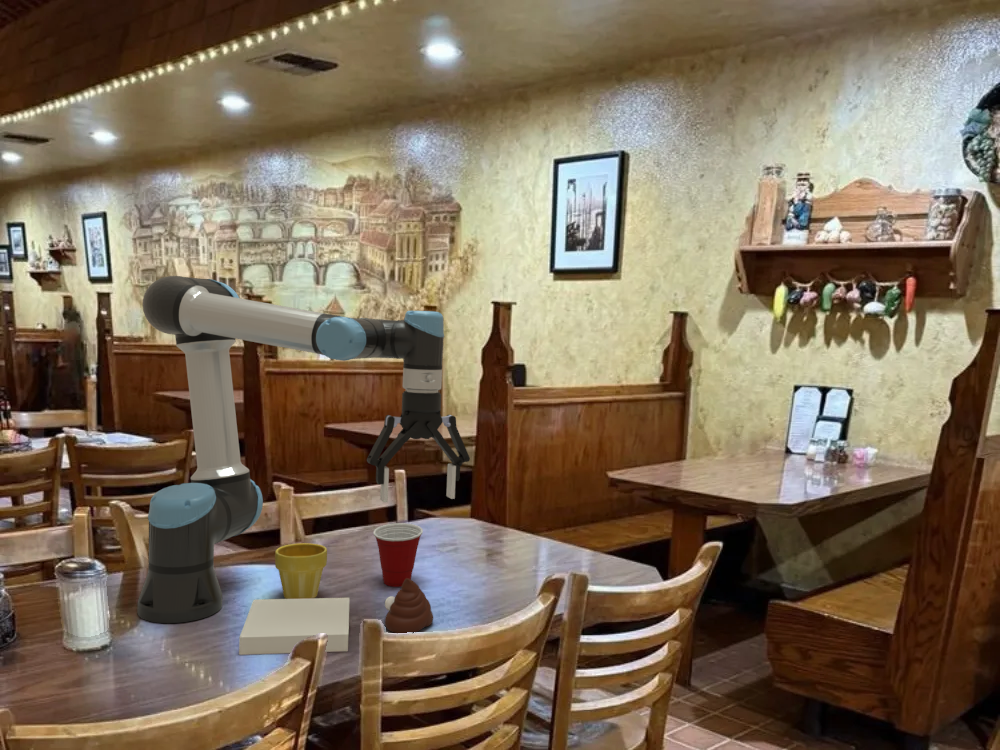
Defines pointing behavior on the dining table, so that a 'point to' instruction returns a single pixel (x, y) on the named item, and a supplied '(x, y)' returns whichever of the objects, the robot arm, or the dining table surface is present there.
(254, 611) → the base board
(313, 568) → the plant pot
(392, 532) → the plastic cup
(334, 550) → the dining table surface
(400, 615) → the poop emoji
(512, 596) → the dining table surface
